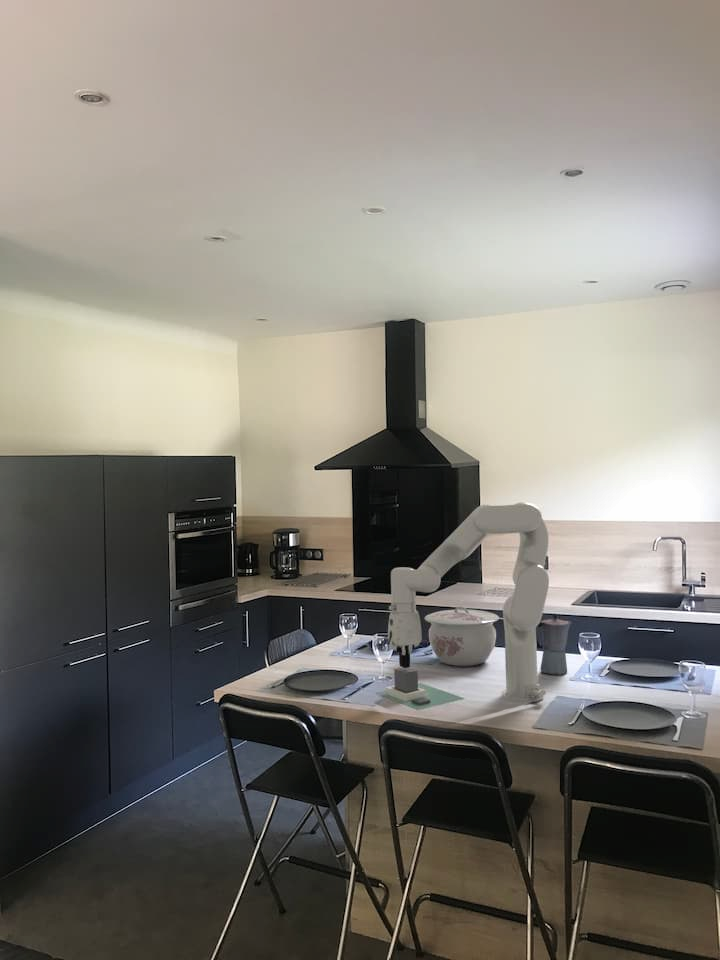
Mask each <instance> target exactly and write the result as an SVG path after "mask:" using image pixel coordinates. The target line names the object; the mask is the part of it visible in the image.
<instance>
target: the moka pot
mask: <svg viewBox="0 0 720 960" xmlns="http://www.w3.org/2000/svg"><path fill="white" fill-rule="evenodd" d="M552 616H553V618H550V619H544V620H540V622H539V624H538V626H537V627H538V628H541V633H542V643H543V645H540V643H539V639H538V634H537V632H536V641H537V647H536V648H537V649H543V652H542V656H541V663H540V671H541V672H542V673H544V674H548V675H549V674H550V675H566V674H568V666H567V655H566V653H567V652H566V651H565V650H566V645H567V642H568V635H569V628H570V626H571V625H572V622H571V621H568V620H562V619H560V618H559V619H558V614H556V613H554V614H552Z"/></svg>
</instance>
